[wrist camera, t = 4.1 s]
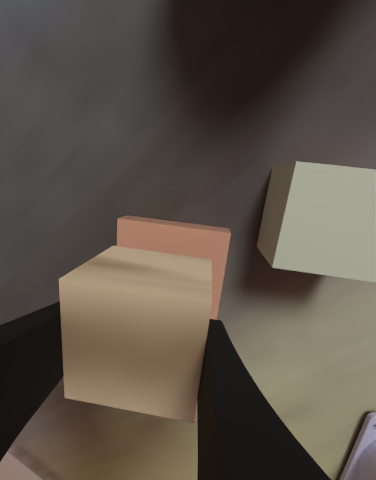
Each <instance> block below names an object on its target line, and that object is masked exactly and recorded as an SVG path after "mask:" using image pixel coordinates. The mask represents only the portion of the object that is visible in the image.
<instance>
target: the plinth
mask: <svg viewBox="0 0 376 480" xmlns="http://www.w3.org/2000/svg"><path fill="white" fill-rule="evenodd" d="M230 236H231V232H230V230H229V228H222V227H214V226H207V225H199V224H191V223H183V222H175V221H167V220H159V219H151V218H144V217H136V216H128V215H126V216H123V217H121V218H118V220H117V246H119V247H126V248H133V249H140V250H147V251H155V252H162V253H169V254H176V255H184V256H191V257H198V258H205V259H212V307H211V313H210V319H215V320H217V315H218V309H219V303H220V296H221V290H222V284H223V278H224V272H225V266H226V260H227V254H228V248H229V242H230Z"/></svg>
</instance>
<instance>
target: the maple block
mask: <svg viewBox="0 0 376 480" xmlns="http://www.w3.org/2000/svg"><path fill="white" fill-rule="evenodd" d="M59 292H60V313H61V333H62V353H63V374H64V394H65V398H68V399H73V400H78V401H83V402H89V403H94V404H99V405H104V406H109V407H114V408H119V409H124V410H130V411H135V412H140V413H145V414H150V415H155V416H160V417H165V418H171V419H176V420H181V421H186V422H191V423H194V416H195V410H196V403H197V397H198V391H199V384H200V378H201V371H202V365H203V358H204V352H205V346H206V339H207V333H208V326H209V320H210V313H211V307H212V259H205V258H198V257H191V256H184V255H176V254H169V253H162V252H155V251H147V250H140V249H133V248H126V247H119V246H112V247H110V248H109V249H107V250H105V251H104V252H102V253H100V254H99V255H97V256H96V257H94V258H92V259H91V260H89V261H87V262H86V263H84V264H83V265H81V266H79V267H78V268H76V269H74V270H73V271H71V272H69V273H68V274H66V275H65V276H63V277H61V278H60V279H59Z"/></svg>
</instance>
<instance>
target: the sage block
mask: <svg viewBox="0 0 376 480" xmlns="http://www.w3.org/2000/svg"><path fill="white" fill-rule="evenodd" d="M256 247H257V248H258V249H259V251H260V252H261V253H262V255H263V256H264V257H265V259H266V260H267V261H268V263H269V264H270V265H271V267H272V268H278V269H285V270H292V271H299V272H306V273H313V274H320V275H327V276H335V277H342V278H349V279H356V280H363V281H370V282H376V170H374V169H365V168H355V167H346V166H336V165H326V164H317V163H307V162H298V161H296V162H292V163H289V164H286V165H282V166H279V167H275V168H272V171H271V176H270V181H269V186H268V191H267V196H266V201H265V206H264V211H263V216H262V221H261V226H260V231H259V236H258V241H257V246H256Z"/></svg>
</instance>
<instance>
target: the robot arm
mask: <svg viewBox="0 0 376 480" xmlns="http://www.w3.org/2000/svg"><path fill="white" fill-rule="evenodd" d="M63 376H64V374H63V353H62V333H61V313H60V302H57V303H55V304H52V305H50V306H47V307H45V308H42V309H40V310H37V311H35V312H32V313H30V314H27V315H25V316H22V317H20V318H17V319H15V320H12V321H10V322H7V323H4V324H2V325H0V461H1V460H2V458H3V457H4V455H5V454H6V452H7V451H8V449H9V448H10V446H11V445H12V443H13V442H14V440H15V439H16V437H17V436H18V435H19V433H20V432H21V431H22V429H23V428H24V426H25V425H26V424H27V422H28V421H29V420H30V419H31V417H32V416H33V415H34V413H35V412H36V411H37V410H38V408H39V407H40V406H41V404H42V403H43V402H44V401H45V399H46V398H47V397H48V395H49V394H50V393H51V392H52V390H53V389H54V388H55V386H56V385H57V384H58V382H59V381H60V380H61V379H62V377H63ZM197 400H198V480H331V479H330V478H329V477H328V476H327V475H326V474H325V472H324V471H323V470H322V469H321V468H320V467H319V465H318V464H317V463H316V462H315V461H314V459H313V458H312V457H311V456H310V455H309V454H308V452H307V451H306V450H305V449H304V448H303V447H302V445H301V444H300V443H299V442H298V441H297V439H296V438H295V437H294V436H293V435H292V433H291V432H290V431H289V429H288V428H287V427H286V426H285V424H284V423H283V422H282V420H281V419H280V418H279V416H278V415H277V414H276V412H275V411H274V410H273V408H272V407H271V406H270V404H269V403H268V401H267V400H266V398H265V397H264V396H263V394H262V393H261V391H260V390H259V388H258V387H257V385H256V383H255V382H254V380H253V379H252V377H251V376H250V374H249V372H248V371H247V369H246V367H245V366H244V364H243V362H242V360H241V359H240V357H239V355H238V353H237V352H236V350H235V348H234V346H233V344H232V342H231V340H230V338H229V336H228V334H227V332H226V329H225V327H224V325H223V323H222V321H221V320H215V319H210V320H209V326H208V333H207V339H206V346H205V352H204V358H203V365H202V371H201V378H200V384H199V391H198V397H197ZM340 480H376V412H371V413H369V414H368V415H367V417H366V419H365V421H364V424H363V426H362V428H361V431H360V433H359V435H358V438H357V440H356V442H355V445H354V447H353V449H352V452H351V454H350V456H349V459H348V461H347V463H346V466H345V468H344V470H343V473H342V475H341V477H340Z"/></svg>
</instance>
